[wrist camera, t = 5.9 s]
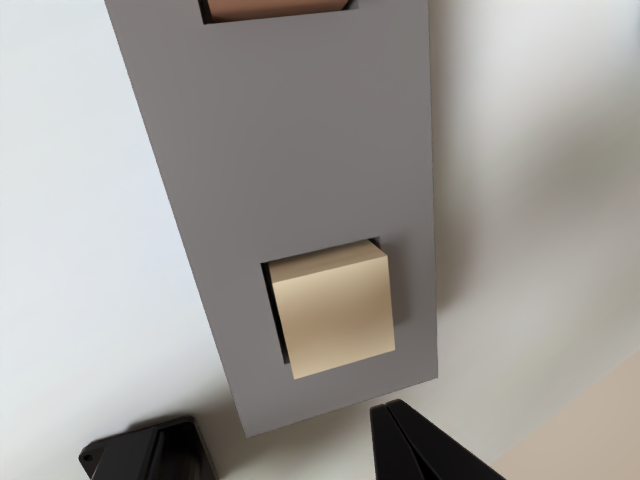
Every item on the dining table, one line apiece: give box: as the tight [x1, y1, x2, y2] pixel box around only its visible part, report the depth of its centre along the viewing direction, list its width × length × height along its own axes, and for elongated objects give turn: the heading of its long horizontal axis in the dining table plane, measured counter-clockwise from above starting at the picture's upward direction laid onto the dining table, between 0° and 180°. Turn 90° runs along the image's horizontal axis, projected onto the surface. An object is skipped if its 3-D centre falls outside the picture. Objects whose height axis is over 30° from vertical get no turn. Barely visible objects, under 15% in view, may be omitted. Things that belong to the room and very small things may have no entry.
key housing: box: [104, 0, 438, 438], centre depth 14 cm, size 25×10×5 cm, turn 9°
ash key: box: [268, 239, 395, 379], centre depth 14 cm, size 4×4×4 cm
